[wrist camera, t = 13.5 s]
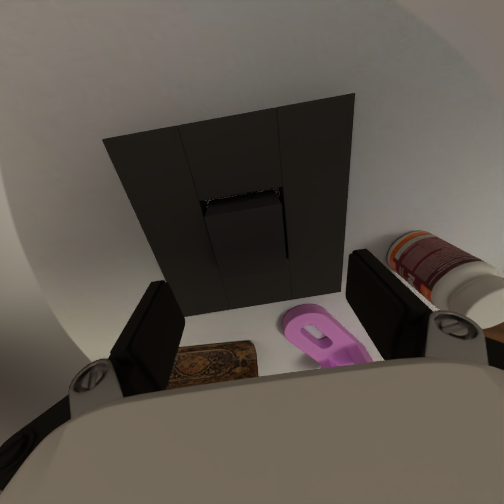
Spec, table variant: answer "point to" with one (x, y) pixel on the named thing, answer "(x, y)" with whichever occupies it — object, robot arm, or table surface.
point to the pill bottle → (449, 277)
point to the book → (213, 364)
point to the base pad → (239, 182)
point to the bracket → (330, 348)
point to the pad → (247, 234)
